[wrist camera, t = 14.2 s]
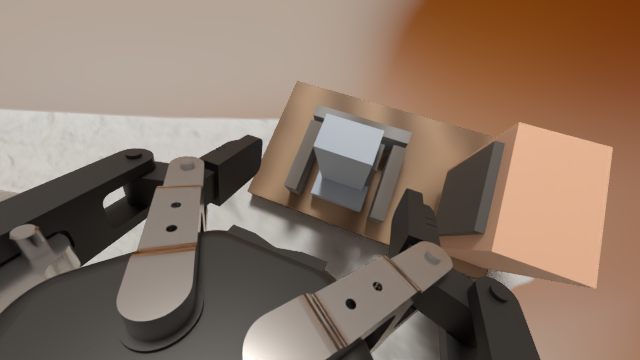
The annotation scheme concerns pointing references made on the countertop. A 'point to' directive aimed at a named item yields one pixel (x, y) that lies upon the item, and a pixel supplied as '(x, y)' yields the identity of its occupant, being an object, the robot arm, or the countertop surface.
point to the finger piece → (346, 161)
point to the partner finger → (528, 206)
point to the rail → (392, 172)
